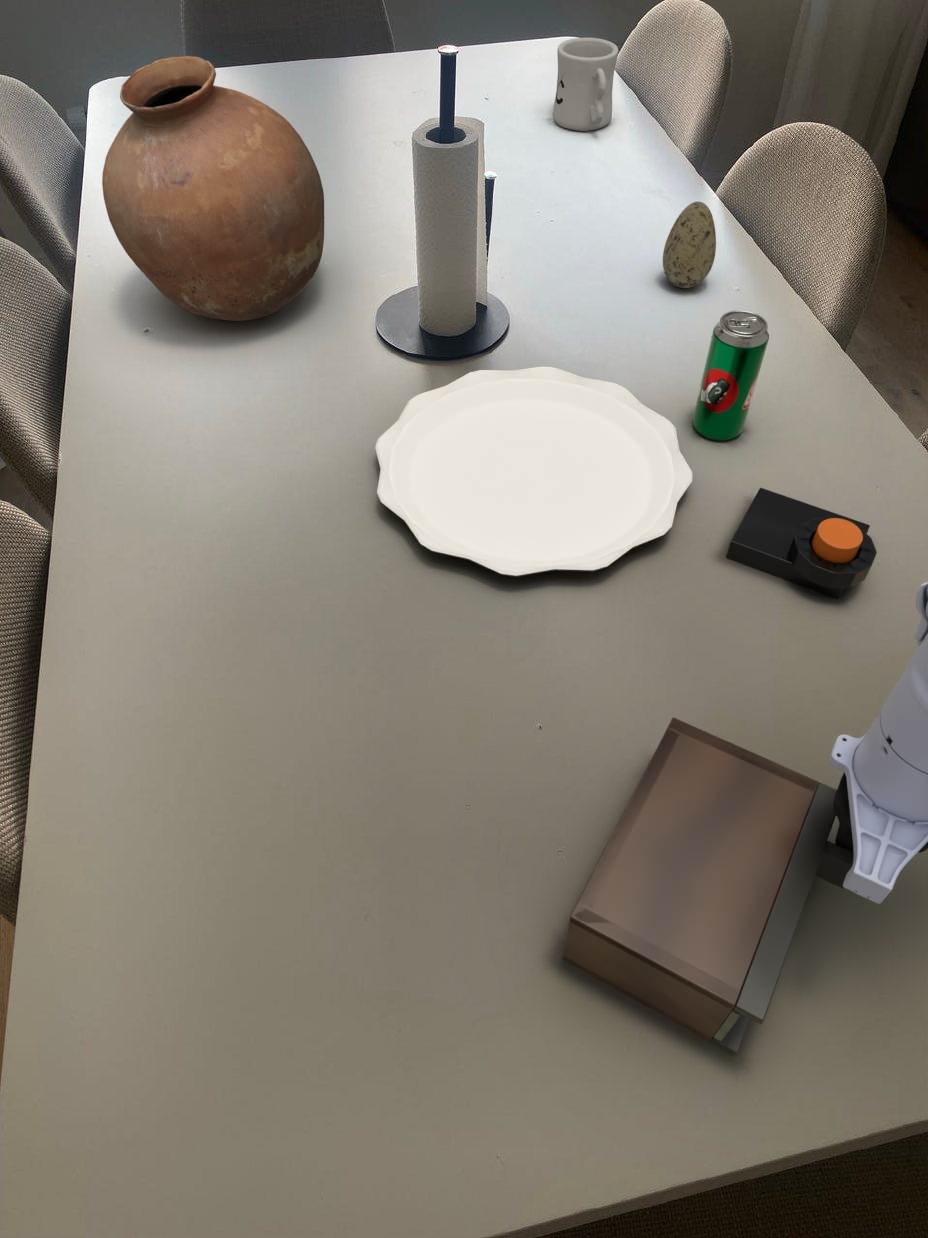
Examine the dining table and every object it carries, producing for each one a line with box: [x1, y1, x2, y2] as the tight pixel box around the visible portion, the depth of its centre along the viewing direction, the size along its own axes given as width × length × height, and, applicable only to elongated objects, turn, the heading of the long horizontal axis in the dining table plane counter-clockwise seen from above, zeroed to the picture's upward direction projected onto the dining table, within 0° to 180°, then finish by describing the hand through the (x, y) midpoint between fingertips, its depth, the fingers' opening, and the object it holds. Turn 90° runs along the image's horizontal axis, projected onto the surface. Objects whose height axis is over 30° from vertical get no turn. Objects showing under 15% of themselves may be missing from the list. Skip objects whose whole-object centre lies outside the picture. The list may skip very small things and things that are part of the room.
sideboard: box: [560, 717, 837, 1056], centre depth 58 cm, size 12×16×7 cm
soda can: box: [692, 310, 770, 442], centre depth 88 cm, size 5×5×12 cm
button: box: [812, 518, 863, 563], centre depth 76 cm, size 4×4×2 cm
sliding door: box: [815, 840, 854, 890], centre depth 57 cm, size 3×8×5 cm, turn 150°
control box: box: [725, 487, 878, 601], centre depth 79 cm, size 11×9×4 cm
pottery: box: [101, 55, 325, 322], centre depth 99 cm, size 23×23×25 cm
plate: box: [374, 365, 693, 578], centre depth 87 cm, size 29×29×2 cm
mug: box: [552, 37, 619, 132], centre depth 136 cm, size 12×9×10 cm
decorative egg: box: [662, 201, 717, 289], centre depth 106 cm, size 6×6×10 cm
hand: (853, 848), depth 58 cm, fingers closed
